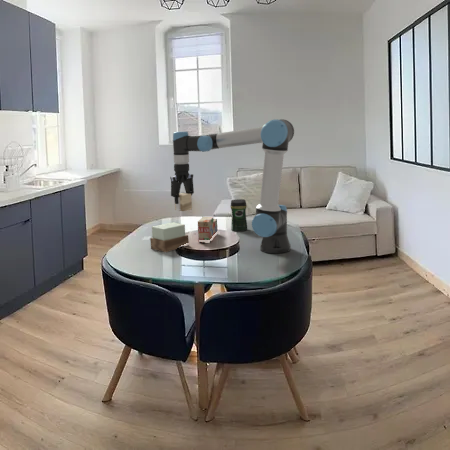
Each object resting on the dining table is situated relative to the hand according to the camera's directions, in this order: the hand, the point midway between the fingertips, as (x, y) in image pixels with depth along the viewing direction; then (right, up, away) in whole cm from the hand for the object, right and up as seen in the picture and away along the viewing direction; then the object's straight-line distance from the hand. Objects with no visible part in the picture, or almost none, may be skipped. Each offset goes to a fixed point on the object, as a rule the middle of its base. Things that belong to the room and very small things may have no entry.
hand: (183, 209), depth 253 cm
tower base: (-8, -20, +12) cm, 25 cm away
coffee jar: (+30, -11, +47) cm, 57 cm away
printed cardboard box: (+12, -16, +28) cm, 35 cm away
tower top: (-8, -14, +11) cm, 20 cm away
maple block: (0, 0, 0) cm, 0 cm away
